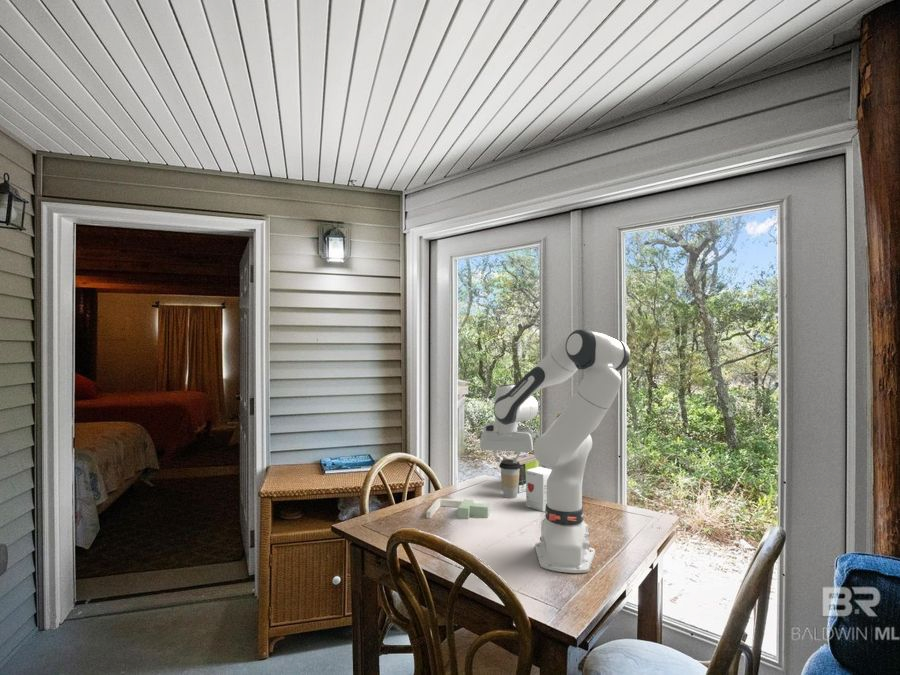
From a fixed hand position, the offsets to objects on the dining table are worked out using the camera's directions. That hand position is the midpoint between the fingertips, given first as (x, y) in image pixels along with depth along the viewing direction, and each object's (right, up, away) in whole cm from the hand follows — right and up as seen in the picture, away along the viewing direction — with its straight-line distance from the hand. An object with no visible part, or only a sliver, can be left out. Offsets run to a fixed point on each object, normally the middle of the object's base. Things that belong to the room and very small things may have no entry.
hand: (506, 462), depth 179 cm
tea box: (+12, -22, +37) cm, 45 cm away
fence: (-23, -21, +6) cm, 32 cm away
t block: (-12, -21, +3) cm, 25 cm away
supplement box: (+16, -22, +12) cm, 29 cm away
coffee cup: (+5, -22, +25) cm, 34 cm away
